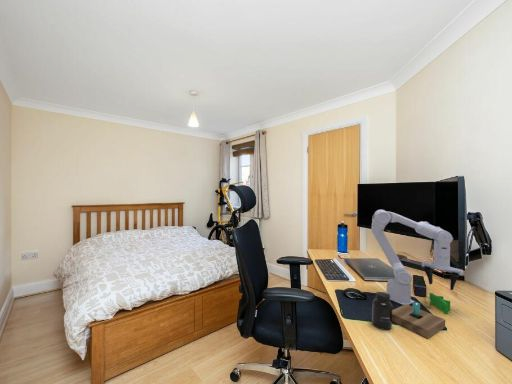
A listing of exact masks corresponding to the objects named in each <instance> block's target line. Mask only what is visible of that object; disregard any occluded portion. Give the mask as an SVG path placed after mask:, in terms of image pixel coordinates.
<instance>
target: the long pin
mask: <svg viewBox="0 0 512 384" xmlns="http://www.w3.org/2000/svg"><path fill="white" fill-rule="evenodd" d="M412 306H413V310H412V317H415V318H417V319H420V310H421V303H420V302H418V301H415V302H413V303H412Z"/></svg>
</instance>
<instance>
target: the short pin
mask: <svg viewBox="0 0 512 384" xmlns="http://www.w3.org/2000/svg"><path fill="white" fill-rule="evenodd" d="M431 305H432V303H431V299H430V298H429V297H427V296H425V297H424V298H423V307H424V308H425V309H429V310H430V309H431V307H432V306H431Z"/></svg>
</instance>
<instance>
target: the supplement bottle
mask: <svg viewBox="0 0 512 384" xmlns="http://www.w3.org/2000/svg"><path fill="white" fill-rule="evenodd" d="M371 306H372V309H371V311H372V313H371V324H372V325H373V326H375V327H376V328H378V329H381V330H387V331H388V330H390V329H392V327H393V322H392V310H394V309H393V304H392V302H391V300H390V295H389V294H387V292H384V291H376V292H375V298H374V299H373V300H372V305H371Z"/></svg>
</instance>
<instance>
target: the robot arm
mask: <svg viewBox="0 0 512 384" xmlns="http://www.w3.org/2000/svg"><path fill="white" fill-rule="evenodd" d="M371 221H372V222H371V230H370V231H371V232H372V234H373V236H374V239H376V241H377V243H378V244H379V247H380V248H381V250H382V252H383V253H384V255H385V257H386V259H387V260H388V262H389V264H390V266H391V268H392V273H393V275H394V278H389V279H388V280H387V282H386V293H387V294H389V295H390V301H393V302H395V303H397V304H400V305H401V306H403V305H405V304H408V305H413V302H416V301H415V300H413V299H412V281H413V276H412V274H411V273H410V272H409V270H408V269H407V267H406V266H404V265H403V264H402V262H401V260H400V258H399V256H398V255H397V253H396V251H395V249H394V248H393V246H392V244H391V243H390V241H389V239H388V238H387V236H386V234H385V233H384V230H385V228H386V226H387V225H388V224H389V223H400V224H402V225H405V226H407V227H410V228H412V229H414V230H415V232H416V233H417V234H419V235H421V236H424V237H427V238H429V239H431V240H432V239H433V240H434V241H433V263H432V262H426V261H422V262H421V267H422V268H423V271H424V273H425V275H426V276H427V280H428V284H429V285H432V284H433V282H434V281H433V275H434V274H433V273H434V270H437V271H442V272H445V273H447V272H448V273H450V274H449V278H450V286H449V287H450V291H454V288H455V286H456V285H455V284H456V283H457V281H458V279H459V277H460V276H463V275H464V270H463V269H461V268H457V267H456V268H455V267H452V266H451V263H450V262H451V243H452V242H453V241H454V237H453V235H452V234H451V233H450V232H449V231H447V230H444V229H443V228H441V227H440V226H435V225H432V224H430V222H428V221H419V222H417V221H415V220H412V219H410V218H408V217H405V216H403V215H400V214H398V213H395V212H392V211H386V210H385V209H377V210H376V211H375V212H374V214H373V215H372V219H371Z"/></svg>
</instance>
